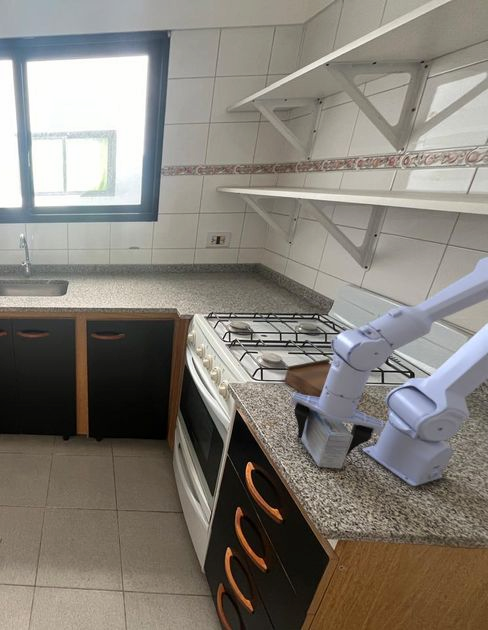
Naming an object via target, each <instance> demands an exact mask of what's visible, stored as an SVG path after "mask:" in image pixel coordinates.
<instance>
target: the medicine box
mask: <svg viewBox="0 0 488 630" xmlns="http://www.w3.org/2000/svg"><path fill="white" fill-rule="evenodd" d="M352 438H353V435H352V434H351V431H350V430H349V429H348V428H347V426H346V425H345V424H344V422H341V421H336V420H333V419H330V418H328V417H326V416H324V415H322V414H320V413H319V412H317V411H314V410H311V409H310V411H309V414H308V417H307V420H306V423H305V428H304V432H303V435H302V438H300V440H301V442H302V443H303V445H304V446H305V449H306V450H307V451H308V453H309V455H310V456H311V458H312V459H313V461H314V463H315V464H316V465H317V467H318V468H327V469H328V468H329V469H339V470H340V469H342V468H343V466H344V461H345V460H346V457H347V456H348V455H347V452H348V449H349V447H350V444H351V441H352ZM346 455H347V456H346Z"/></svg>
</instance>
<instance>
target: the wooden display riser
mask: <svg viewBox="0 0 488 630" xmlns="http://www.w3.org/2000/svg"><path fill="white" fill-rule="evenodd" d="M330 361H331V359H329V358H326V359H321V360H316V361H315V360H314V361H309V362H304V363H299V364H294V365H289V366H287V370H286V374H285V377H284V381H283V382H284V383H286V384H287V385H288V386H290V387H291V388H293V389H294V390H296V391H298V392H299V394H302V395H308V396H314V397H320V396H321V393H322V390H323V387H324V385H325V382H326V379H327V376H328V373H329V370H330V367H331V364H332V363H330Z"/></svg>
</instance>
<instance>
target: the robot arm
mask: <svg viewBox="0 0 488 630" xmlns="http://www.w3.org/2000/svg"><path fill="white" fill-rule="evenodd" d="M487 300H488V256H485V257H483V258H480V259H479V260H478V261H477V263H476V266H475V268H474V270H473V271H472V272H470V273H468V274H466V275H465V276H463V277H461V278H460V279H458V280H457V281H455V282H454V283H452V284H450V285H448V286H447V287H445V288H443V289H441V291H438V292H436V294H435V293H434V295H432V296H430V297H429V298H427V299H425V300H424V301H422V302H421V303H419V304H417V305H416V306H409V305H407V306H406V305H400V306H399V307H397V308H396V307H393V308H392V309H390V310H387V313H386V314H383V315H382V316H380V317H378V318H376V319H374V320H372V321H371V322H369V323H367V324H365V325H362V326H361V327H359V328H353V329H351V328H350V329H346V330H343V331H341V332H340V333H338V334H337V335H336V336H335V338H334V339H333V338H332V339H330V347H331V350H332V351H333V355H332V362H331V363H330V364H331V367H330V370H329V373H328V376H327V379H326V382H325V385H324V387H323V390H322V393H321V396H320V397H314V396H308V395H303V394H302V393H298V392H295V391H294V392H293V394H292V396H291V400H290V403H289V404H290V405H292V406H295V407H294V410H293V411H294V416H295V419H296V423H297V439H301V438H302V435H303V432H304V428H305V423H306V420H307V417H308V414H309V411H310V409H311V410H314V411H317V412H319V413H320V414H322V415H324V416H326V417H328V418H330V419H333V420H336V421H341V422H342V423H346V424H351V425H352V429H351V431H350V433H351V434H352V435H353V438H352V441H351V444H350V447H349V449H348V452H347V455H346V457H348V455H350V453H351V452H352V451H353V450H354V449H356V448H357V447H359V446H360V445H362V444H364V443H366V442H369V441H370V440H371V439H372V437H373V434H376V435H379V438H378V439H377V441H376V444H374V445H370V446H367V447H364V448H362V452H363V453H364V454H366V455H368V456H369V457H370V458H372V459H374V460H375V461H376V462H378V463H379V464H380V465H382V466H383V467H385V468H386V469H387V470H388V471H390V472H391V473H393V474H394V475H396V476H397V477H398V478H400V479H401V480H402V481H404V482H405V483H406V484H408V485H410V486H411V487H417V486H420V485H423V484H427V483H429V482H432V481H435V480H439V479H442V478H443V472H444V470H445V468H446V467H447V465H448V464H449V462H450V460H451V459H452V457H453V454H454V448H453V447H451V446H450V445H449V444H448V443H446V440H450V439H451V438H452V437H454V436H455V435H456V434H457V433H458V432H459V430H460V428H461V426H462V424H463V423H464V422H465V421H466V420H467V419H469V418H470V413H469V409H468V404H467V402H466V398H467V397H468V396H469V395H470V394H471V393H473V392H474V391H475V390H476V389H478V388H479V387H480V386H481V385H482V384H484V383H485V382H486V381H487V380H488V322H487V323H486V324H485V325H483V327H481V328H480V329H479V330H478V331H477V332H476V333H475V334H474V335H473V336H472V337H470V338H469V339H468V340H467V341H466V342H465V343H464V344H463V345H461V347H460V348H459V349H458V350H456V352H454V353H453V354H452V355H451V356H450V357H449V358H448V359H447V360H446V361H444V362H443V363H442V364H441V365H440V366H439V367H438V368H437V369H436V370H435V371H433V372H432V374H430V375H429V376H428V377H411V378H409V379H408V380H407V381H405V382H404V383H403V384H401V385H399V386H397V387H395V388H393V389H391V390H390V391H389V392H388V393H387V394H386V396H385V400H384V401H385V404H386V406H387V407H388V408H389V409H388V411H387V414H388V418H387V420H386V422H385V424H384V421H383V420H380V419H377V418H375V417H373V416H370V415H368V414H366V413H364V412H362V411H360V410H358V409H357V407H358V405H359V403H360V400H361V398H362V396H363V395H362V394H363V392H364V390H365V387H366V386H367V383H368V380H369V377H370V375H371V372H372V370H374V369H378V368H380V367H382V366H383V365H384V364H385V363H386V362H387V360H388V359H389V357H391V356H392V355H393V353H395V351H396V350H398V349H399V348H402V347H404V346H406V345H408V344H410V343H412V342H414V341H416V340H418V339H420V338H422V337H425V336H426V335H428V334H430V332H431V329H432V325H433V323H435V322H438V321H440V320H443V319H445V318H447V317H450V316H452V315H454V314H456V313H459V312H462V311H463V310H466V309H468V308H471V307H472V306H475V305H477V304H479V303H482V302H484V301H487Z"/></svg>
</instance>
